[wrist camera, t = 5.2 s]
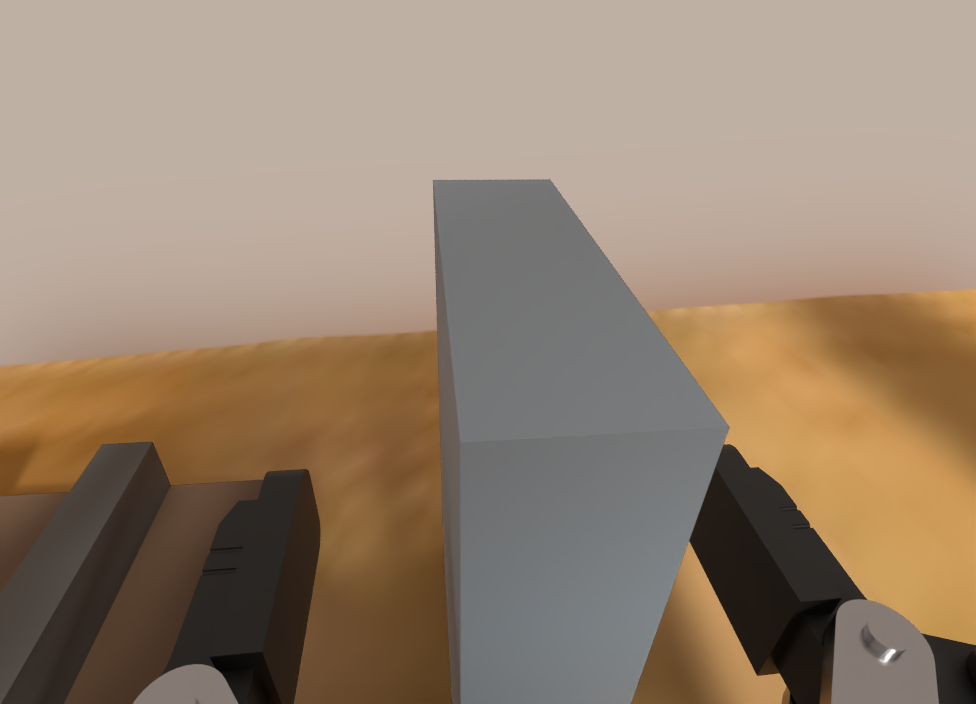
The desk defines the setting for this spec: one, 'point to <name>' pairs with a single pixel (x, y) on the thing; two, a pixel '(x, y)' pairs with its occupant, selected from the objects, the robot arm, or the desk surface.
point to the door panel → (555, 452)
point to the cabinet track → (102, 577)
